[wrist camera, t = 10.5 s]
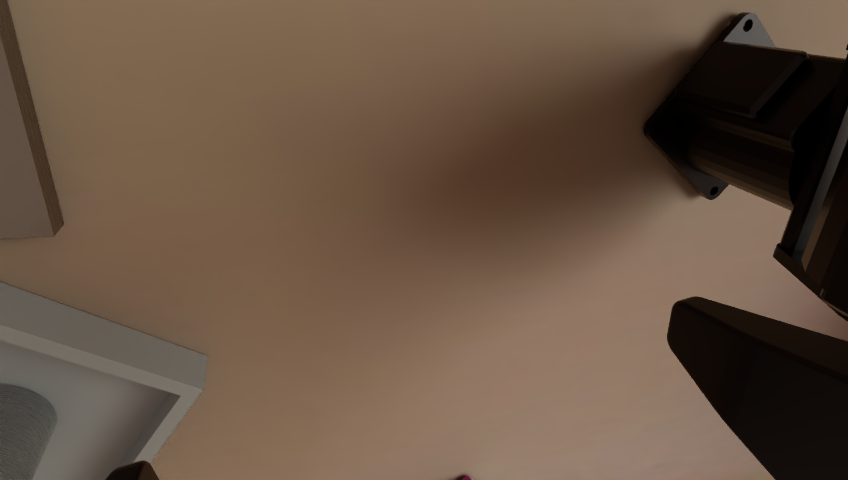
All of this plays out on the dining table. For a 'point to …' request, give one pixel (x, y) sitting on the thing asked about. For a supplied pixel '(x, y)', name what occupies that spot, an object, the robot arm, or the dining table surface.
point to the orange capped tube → (23, 431)
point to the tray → (95, 384)
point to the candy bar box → (467, 478)
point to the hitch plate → (22, 150)
